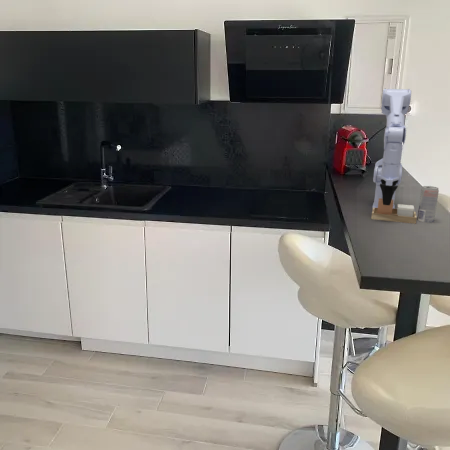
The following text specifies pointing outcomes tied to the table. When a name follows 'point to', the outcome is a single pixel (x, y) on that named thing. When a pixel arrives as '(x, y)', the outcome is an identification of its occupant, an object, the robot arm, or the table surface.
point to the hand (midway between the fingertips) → (386, 202)
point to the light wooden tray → (393, 217)
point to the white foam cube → (405, 210)
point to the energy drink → (428, 204)
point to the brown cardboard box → (384, 207)
